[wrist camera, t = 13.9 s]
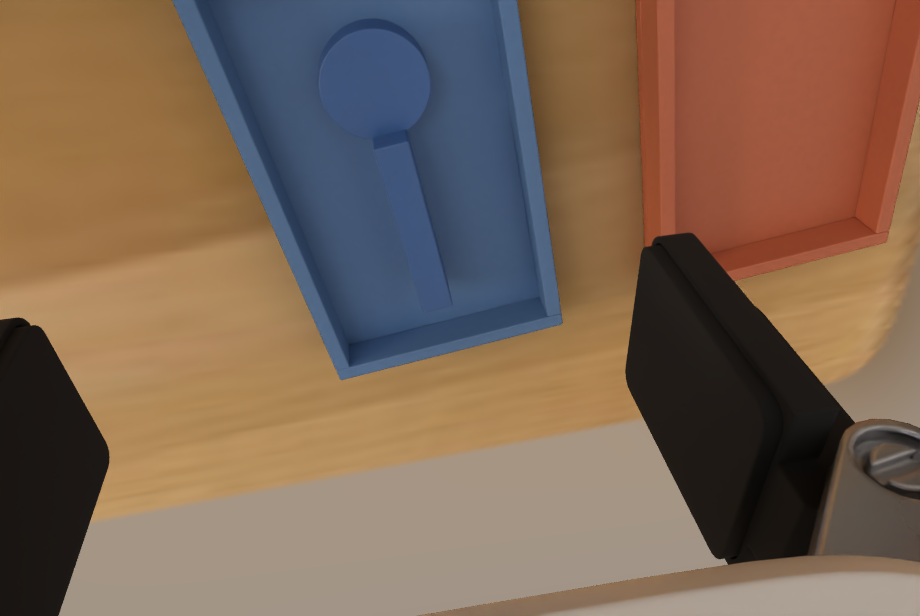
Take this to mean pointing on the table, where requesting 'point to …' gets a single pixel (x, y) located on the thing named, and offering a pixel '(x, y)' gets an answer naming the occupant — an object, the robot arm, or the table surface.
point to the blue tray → (359, 180)
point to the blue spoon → (388, 131)
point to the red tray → (775, 124)
